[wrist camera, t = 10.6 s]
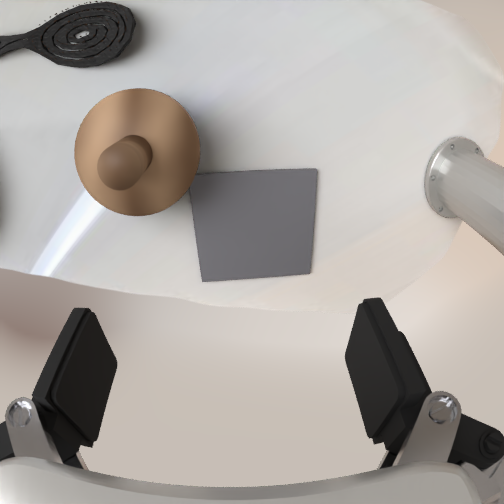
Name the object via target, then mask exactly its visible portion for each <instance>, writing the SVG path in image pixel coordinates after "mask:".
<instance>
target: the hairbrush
mask: <svg viewBox="0 0 504 504" xmlns="http://www.w3.org/2000/svg"><path fill="white" fill-rule="evenodd" d="M95 2H97V1H95ZM86 3H87V2H86ZM90 3H91V2H90ZM84 4H85V3H84ZM78 5H80V4H78ZM76 6H77V5H76ZM73 7H74V6H73ZM67 9H68V8H67ZM67 9H65V10H67ZM90 9H93V10H90ZM94 9H97V10H94ZM98 9H99V10H98ZM100 9H104V10H100ZM105 9H113V10H115V11H117V12H119V13H120V14H121V15H120V14H118V13H116V12H113V11H111V10H105ZM85 10H87V11H85ZM89 10H90V11H89ZM81 11H82V12H81ZM62 12H63V11H62ZM78 12H79V13H78ZM75 13H77V14H75ZM56 14H57V13H56ZM56 14H55V15H56ZM72 14H74V15H72ZM70 15H71V16H70ZM96 16H97V17H96ZM99 16H102V17H99ZM104 16H109V17H111V18H113V19H114V20H115V21H114V20H113V19H111V18H107V17H104ZM122 16H123V17H122ZM50 17H51V16H50ZM90 17H94V18H90ZM83 18H86V19H83ZM78 19H82V20H78ZM75 20H78V21H75ZM73 21H75V22H73ZM56 22H57V23H56ZM71 22H72V23H71ZM68 23H69V24H68ZM92 23H99V24H104V25H105V26H103V25H94V24H92ZM87 24H91V25H87ZM39 25H40V24H39ZM82 25H85V26H82ZM135 25H136V23H135V20H134V17H133V14H132V12H131V11H130V9H129V8H127V7H125V6H122V5H120V4H116V3H112V2H102V1H101V3H98V2H97V3H93V4H86V5H80V6H78V7H75V8H73V9H70V10H68V11H65V12H63V13H61V14H59V15H56V17H54V18H52V19H51V20H49V21H48V22H46V23H45V24H43V25H42V26H41V25H40V27H38V28H36V29H34V30H31V31H29V32H27V33H25V34H19V35H12V36H0V55H2V54H4V53H6V52H8V51H12V50H15V49H19V48H27V49H30V50H32V51H34V52H37V53H38V54H40V55H42V56H44V57H46V58H47V59H49V60H51V61H53V62H54V63H56V64H58V65H64V66H70V67H79V68H81V67H91V66H98V65H101V64H103V63H106V62H108V61H109V60H111V59H114V58H116V57H118V56H119V55H120V54H121V52H122V51H123V50H124V49H125V47H126V46H127V45H128V44H129V43H130V41H131V38H132V35H133V31H134V28H135ZM79 26H81V27H79ZM77 27H78V28H77ZM85 30H87V31H89V35H86V36H84V37H82V36H80V37H82V38H79V39H77V38H76V37H75V34H77V33H80V32H82V31H85ZM67 37H68V39H67ZM26 38H28V40H21V39H26ZM18 40H19V41H18ZM90 40H91V41H90ZM69 41H70V42H76V43H77V44H71V43H70V42H69ZM86 41H90V42H86ZM81 42H82V43H81ZM83 42H84V43H83ZM78 43H79V44H78ZM56 45H58V46H59V47H61V48H62V49H70V50H76V49H84V50H82V51H80V50H79V51H65V50H61V49H59V48H58V47H57V46H56ZM93 46H95V47H93ZM89 47H90V48H89ZM91 47H92V48H91ZM86 48H89V49H86ZM52 53H54V54H57V55H60V56H63V57H70V58H84V59H80V60H74V59H65V58H61V57H58V56H55V55H54V54H52ZM97 54H98V55H97ZM95 55H96V56H95ZM92 56H94V57H92ZM85 57H89V58H85Z"/></svg>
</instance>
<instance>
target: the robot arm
mask: <svg viewBox="0 0 504 504" xmlns="http://www.w3.org/2000/svg"><path fill="white" fill-rule="evenodd" d="M425 193H426V197H427V200H428V202H429V204H430V206H431V207H432V208H433V210H434V211H436V212H437V213H438V214H439V215H441V216H443V217H447V218H455V217H459V218H461V219H462V220H463V221H464V222H466V223H467V224H468V225H469V226H471V227H472V228H473V229H474V230H475V231H477V232H478V233H479V234H480V235H481V236H482V237H484V238H485V239H486V240H487V241H488V242H490V243H491V244H492V245H493V246H494V247H495V248H496V249H497V250H498V251H499V252H501V253H502V254H503V255H504V167H502V166H500V165H498V164H496V163H494V162H492V161H490V160H488V159H486V158H484V155H483V153H482V151H481V149H480V148H479V146H478V145H477V144H476V143H475V142H473V141H472V140H469V139H467V138H464V137H454V138H451V139H448V140H447V141H445V142H444V143H442V144H441V145H440V146H439V147H438V148H437V150H436V151H435V152H434V154H433V156H432V158H431V159H430V161H429V164H428V167H427V171H426V176H425ZM345 361H346V364H347V368H348V371H349V374H350V378H351V381H352V384H353V387H354V391H355V394H356V398H357V401H358V404H359V408H360V412H361V415H362V419H363V422H364V426H365V429H366V433H367V436H368V437H369V438H372V439H373V442H374V444H378V443H382V442H384V444H385V448H386V450H387V451H386V453H385V455H384V457H383V459H382V461H381V463H380V464H379V466H378V468H377V470H373V471H369V472H364V473H360V474H355V475H350V476H344V477H339V478H333V479H326V480H320V481H313V482H306V483H297V484H288V485H276V486H260V487H198V486H183V485H171V484H161V483H153V482H146V481H138V480H133V479H127V478H121V477H115V476H110V475H106V474H101V473H97V472H92V471H89V470H88V468H87V466H86V464H85V462H84V460H83V458H82V456H81V454H80V453H79V447H80V445H83V446H87V447H91V448H92V446H93V442H94V441H96V440H97V438H98V435H99V431H100V427H101V423H102V419H103V415H104V412H105V408H106V404H107V400H108V397H109V393H110V390H111V386H112V383H113V379H114V376H115V373H116V369H117V360H116V357H115V356H114V353H113V351H112V350H111V347H110V345H109V343H108V341H107V339H106V337H105V335H104V333H103V330H102V328H101V326H100V324H99V322H98V319H97V317H96V315H95V313H94V312H91V310H90V309H89V308H74V309H73V310H72V312H71V314H70V316H69V318H68V320H67V322H66V324H65V325H64V327H63V330H62V331H61V333H60V335H59V337H58V339H57V341H56V343H55V345H54V347H53V349H52V351H51V354H50V355H49V358H48V360H47V362H46V364H45V366H44V368H43V371H42V373H41V375H40V378H39V380H38V382H37V384H36V386H35V389H34V391H33V394H32V396H33V398H32V400H30V399H28V398H25V397H21V398H18V399H15V400H14V401H12V402H11V404H10V405H9V406H8V408H7V410H6V414H5V419H6V421H4V422H3V423H1V424H0V504H504V436H503V434H502V433H501V432H500V431H499V430H497V429H495V428H493V427H491V426H489V425H486V424H484V423H482V422H479V421H477V420H475V419H473V418H471V417H468V416H466V415H464V414H462V413H461V406H460V403H459V402H458V400H457V399H456V398H455V397H454V396H453V395H452V394H450V393H447V392H444V391H436V392H434V393H432V391H431V389H430V387H429V385H428V382H427V380H426V378H425V376H424V374H423V372H422V370H421V367H420V365H419V364H418V361H417V359H416V357H415V355H414V353H413V351H412V349H411V347H410V345H409V343H408V341H407V339H406V337H405V335H404V334H403V333H402V332H401V331H398V329H397V327H396V325H395V323H394V321H393V320H392V317H391V316H390V314H389V312H388V310H387V309H386V306H385V304H384V302H383V301H382V299H381V298H370V299H364V300H363V303H361V304H359V305H358V308H357V312H356V316H355V320H354V324H353V328H352V331H351V335H350V339H349V342H348V346H347V349H346V352H345Z"/></svg>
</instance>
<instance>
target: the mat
mask: <svg viewBox="0 0 504 504" xmlns="http://www.w3.org/2000/svg"><path fill="white" fill-rule="evenodd" d="M316 183H317V169H275V170H253V171H235V172H220V173H207V174H196V175H195V177H194V180H193V182H192V183H191V185H190V195H191V204H192V212H193V220H194V228H195V235H196V243H197V250H198V257H199V264H200V271H201V277H202V282H209V281H224V280H238V279H251V278H265V277H277V276H289V275H301V274H310V266H311V255H312V243H313V230H314V216H315V201H316Z"/></svg>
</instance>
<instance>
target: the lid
mask: <svg viewBox="0 0 504 504" xmlns="http://www.w3.org/2000/svg"><path fill="white" fill-rule="evenodd" d="M199 159H200V141H199V135H198V132H197V129H196V126H195V124H194V122H193V120H192V118H191V117H190V115H189V114H188V112H187V111H186V110H185V109H184V107H183V106H182V105H180V104H179V103H178V102H177V101H176V100H174V99H173V98H171V97H170V96H168V95H166V94H164V93H162V92H159V91H155V90H151V89H141V88H136V89H128V90H123V91H119V92H116V93H114V94H111V95H109V96H107V97H106V98H104V99H102V100H101V101H100V102H98V103H97V104H96V105H95V106H94V107H93V108H92V109H91V110H90V111H89V112H88V114H87V115H86V117H85V118H84V120H83V122H82V123H81V125H80V128H79V130H78V133H77V137H76V141H75V164H76V168H77V172H78V175H79V177H80V180H81V182H82V183H83V185H84V187H85V188H86V190H87V191H88V193H89V194H90V195H91V196H92V197H93V198H94V199H95V200H96V201H97V202H99V203H100V204H101V205H103V206H104V207H106V208H108V209H110V210H112V211H114V212H117V213H120V214H124V215H129V216H145V215H151V214H154V213H158V212H160V211H162V210H165V209H167V208H168V207H170V206H172V205H173V204H174V203H176V202H177V201H178V200H179V199H180V198H181V197H182V196H183V195H184V194H185V193H186V191H187V190H188V189H189V187H190V185H191V183H192V182H193V180H194V177H195V175H196V172H197V169H198V164H199Z"/></svg>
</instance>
